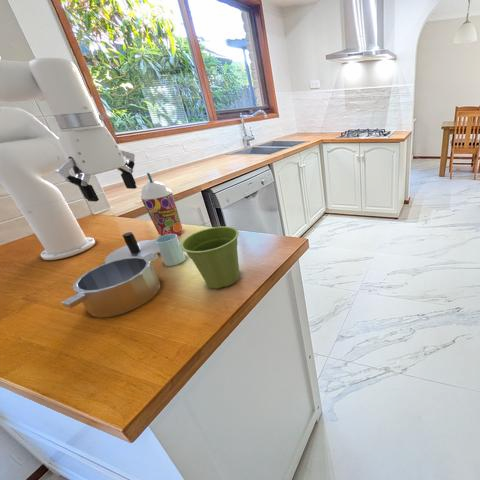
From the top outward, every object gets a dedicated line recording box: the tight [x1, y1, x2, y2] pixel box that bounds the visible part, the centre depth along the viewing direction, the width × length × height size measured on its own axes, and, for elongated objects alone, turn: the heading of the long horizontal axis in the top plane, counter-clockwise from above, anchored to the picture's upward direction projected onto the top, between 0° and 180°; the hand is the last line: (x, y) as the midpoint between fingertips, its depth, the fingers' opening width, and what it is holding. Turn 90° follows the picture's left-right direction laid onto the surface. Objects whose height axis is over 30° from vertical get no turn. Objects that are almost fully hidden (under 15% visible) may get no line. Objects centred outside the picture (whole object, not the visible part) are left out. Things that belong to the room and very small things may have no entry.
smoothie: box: [139, 172, 183, 236], centre depth 89 cm, size 8×8×20 cm
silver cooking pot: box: [61, 253, 161, 318], centre depth 63 cm, size 13×19×6 cm
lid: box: [104, 231, 160, 264], centre depth 81 cm, size 14×14×7 cm
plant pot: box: [180, 226, 240, 290], centre depth 65 cm, size 12×12×11 cm
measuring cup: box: [154, 234, 186, 267], centre depth 76 cm, size 5×5×7 cm
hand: (113, 194), depth 74 cm, fingers open, 9 cm apart
